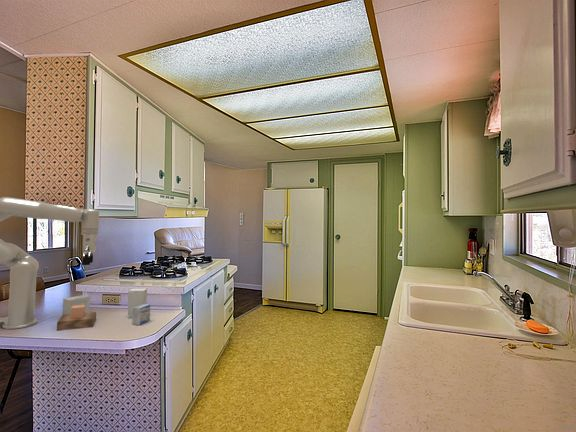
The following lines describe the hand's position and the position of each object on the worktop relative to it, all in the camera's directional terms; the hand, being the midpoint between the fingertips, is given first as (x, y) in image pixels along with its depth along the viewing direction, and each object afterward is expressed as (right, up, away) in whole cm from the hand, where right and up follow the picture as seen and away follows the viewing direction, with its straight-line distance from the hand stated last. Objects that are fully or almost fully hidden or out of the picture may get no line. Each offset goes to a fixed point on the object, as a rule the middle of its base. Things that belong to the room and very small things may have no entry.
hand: (87, 263), depth 157 cm
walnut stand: (+4, -28, -13) cm, 31 cm away
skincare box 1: (-6, -28, -1) cm, 29 cm away
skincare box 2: (+25, -30, +3) cm, 39 cm away
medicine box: (+32, -30, -7) cm, 44 cm away
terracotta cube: (+4, -24, -13) cm, 28 cm away
